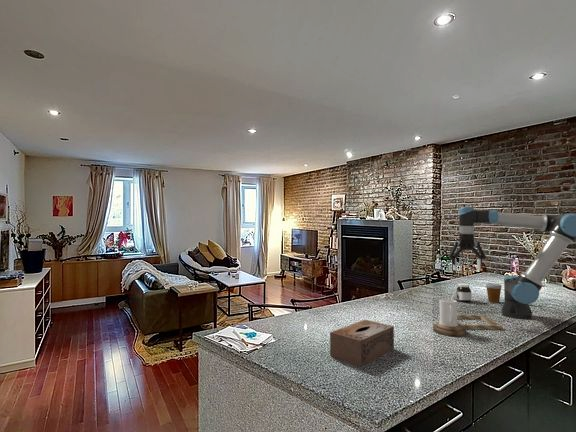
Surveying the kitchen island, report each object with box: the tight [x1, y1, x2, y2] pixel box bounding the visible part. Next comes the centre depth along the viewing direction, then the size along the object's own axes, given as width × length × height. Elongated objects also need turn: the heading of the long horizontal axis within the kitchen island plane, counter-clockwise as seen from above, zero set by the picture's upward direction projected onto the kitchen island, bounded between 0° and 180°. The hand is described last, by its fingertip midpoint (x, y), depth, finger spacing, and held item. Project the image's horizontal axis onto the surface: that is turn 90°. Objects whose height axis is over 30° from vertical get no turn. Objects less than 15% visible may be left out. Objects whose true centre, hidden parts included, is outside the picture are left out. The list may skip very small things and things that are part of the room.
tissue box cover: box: [329, 319, 395, 367], centre depth 144 cm, size 26×14×10 cm, turn 135°
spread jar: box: [450, 283, 472, 303], centre depth 238 cm, size 12×11×12 cm
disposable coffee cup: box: [485, 282, 503, 304], centre depth 235 cm, size 10×10×12 cm
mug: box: [438, 298, 458, 327], centre depth 171 cm, size 12×8×12 cm
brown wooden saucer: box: [432, 321, 467, 337], centre depth 171 cm, size 15×15×3 cm
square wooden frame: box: [457, 314, 503, 331], centre depth 185 cm, size 20×20×2 cm
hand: (467, 270), depth 198 cm, fingers open, 13 cm apart
